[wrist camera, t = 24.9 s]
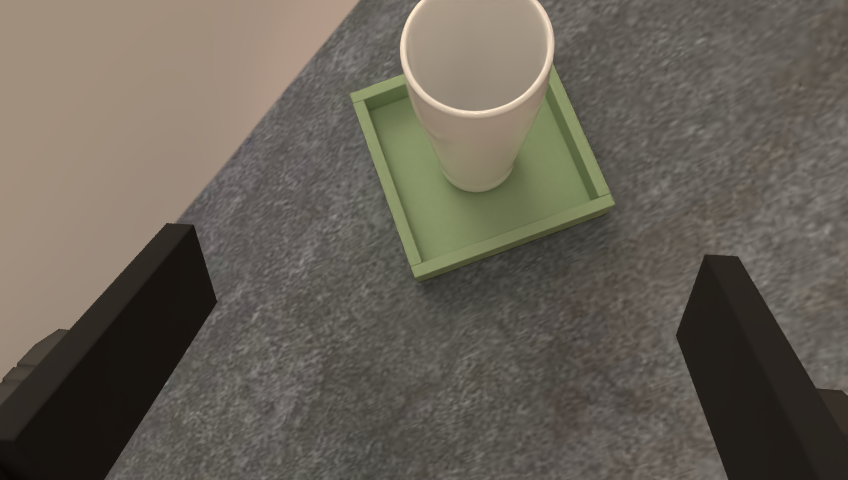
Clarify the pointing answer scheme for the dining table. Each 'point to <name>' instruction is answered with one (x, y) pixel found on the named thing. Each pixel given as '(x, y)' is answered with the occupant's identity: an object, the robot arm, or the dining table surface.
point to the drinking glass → (477, 82)
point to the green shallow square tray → (479, 211)
